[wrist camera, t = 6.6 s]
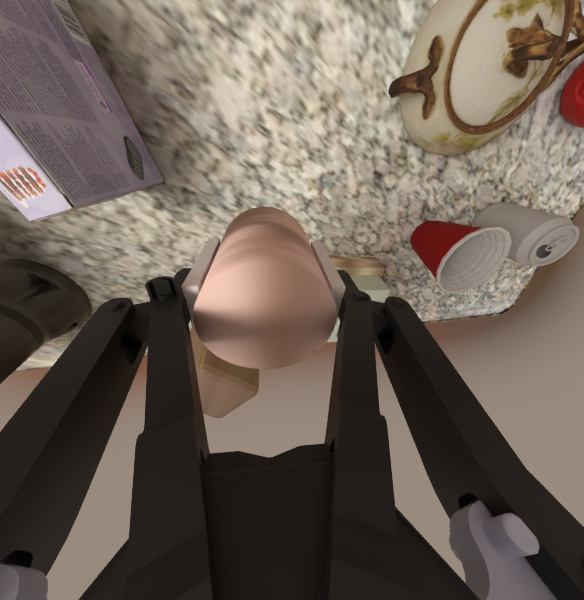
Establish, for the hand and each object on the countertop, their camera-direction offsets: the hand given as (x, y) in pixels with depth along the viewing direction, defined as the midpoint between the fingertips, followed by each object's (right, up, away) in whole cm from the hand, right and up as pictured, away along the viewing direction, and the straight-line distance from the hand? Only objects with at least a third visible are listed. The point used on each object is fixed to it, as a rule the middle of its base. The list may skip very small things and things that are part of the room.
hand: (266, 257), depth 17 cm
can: (+39, +11, +24) cm, 47 cm away
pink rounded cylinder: (0, +1, +1) cm, 1 cm away
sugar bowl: (+21, +25, +11) cm, 35 cm away
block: (-12, -6, +30) cm, 33 cm away
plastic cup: (+27, +9, +24) cm, 38 cm away
